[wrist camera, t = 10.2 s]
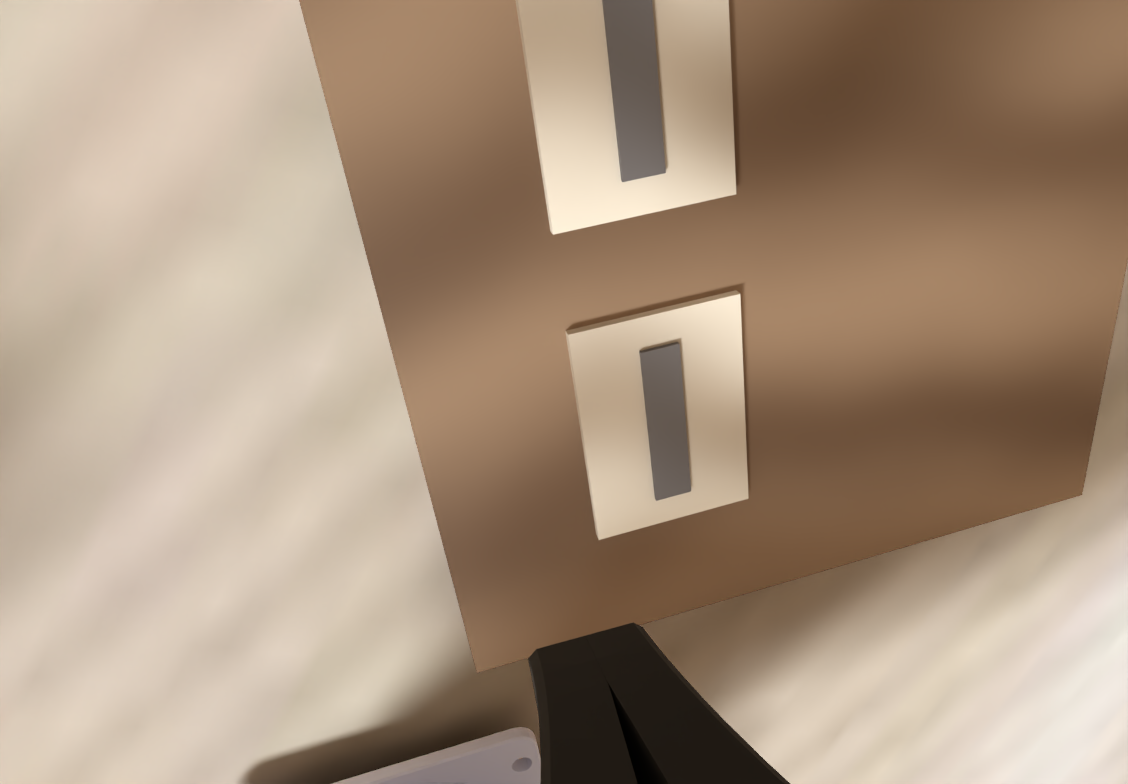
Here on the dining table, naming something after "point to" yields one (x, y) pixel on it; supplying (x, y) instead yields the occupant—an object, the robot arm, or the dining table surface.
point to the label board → (729, 280)
